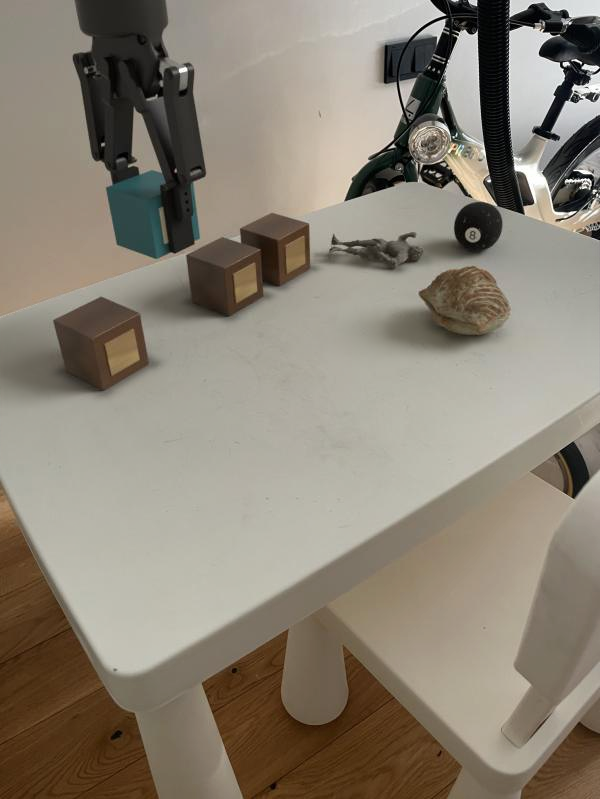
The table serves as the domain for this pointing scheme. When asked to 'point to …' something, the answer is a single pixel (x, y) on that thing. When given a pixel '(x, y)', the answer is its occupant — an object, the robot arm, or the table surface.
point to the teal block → (143, 214)
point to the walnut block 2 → (225, 275)
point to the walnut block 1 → (102, 342)
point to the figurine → (381, 249)
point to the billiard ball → (478, 226)
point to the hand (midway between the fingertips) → (158, 239)
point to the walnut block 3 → (279, 246)
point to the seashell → (466, 301)
